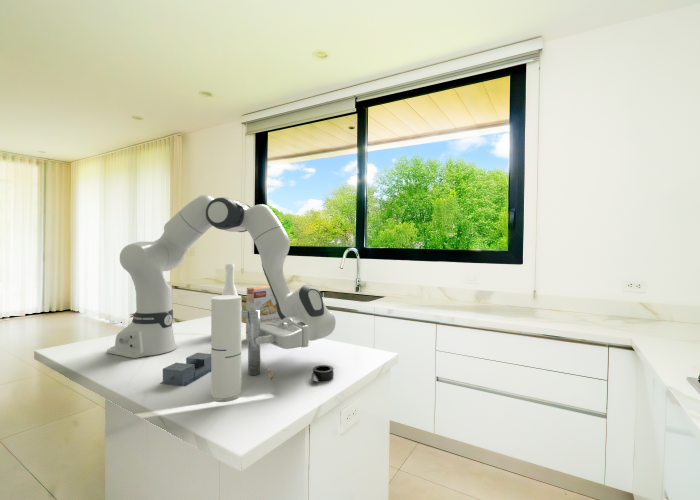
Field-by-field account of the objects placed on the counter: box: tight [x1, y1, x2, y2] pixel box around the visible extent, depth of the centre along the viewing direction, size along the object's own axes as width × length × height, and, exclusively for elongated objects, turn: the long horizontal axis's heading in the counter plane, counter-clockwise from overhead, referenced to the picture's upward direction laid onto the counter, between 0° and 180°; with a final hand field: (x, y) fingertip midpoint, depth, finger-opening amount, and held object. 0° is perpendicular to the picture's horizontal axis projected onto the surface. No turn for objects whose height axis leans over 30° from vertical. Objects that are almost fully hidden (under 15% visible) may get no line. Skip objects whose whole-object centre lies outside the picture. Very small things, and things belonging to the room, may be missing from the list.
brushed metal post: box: [241, 309, 261, 376], centre depth 99 cm, size 7×3×18 cm, turn 112°
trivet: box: [265, 368, 274, 380], centre depth 100 cm, size 11×11×1 cm
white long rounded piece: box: [221, 263, 243, 332], centre depth 147 cm, size 10×10×30 cm
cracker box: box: [245, 285, 282, 336], centre depth 144 cm, size 14×6×21 cm, turn 138°
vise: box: [159, 352, 211, 387], centre depth 99 cm, size 14×8×5 cm, turn 167°
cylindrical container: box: [210, 294, 242, 403], centre depth 88 cm, size 7×7×25 cm
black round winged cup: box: [311, 364, 335, 383], centre depth 100 cm, size 8×10×3 cm
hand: (251, 339), depth 99 cm, fingers closed on brushed metal post, 3 cm apart
